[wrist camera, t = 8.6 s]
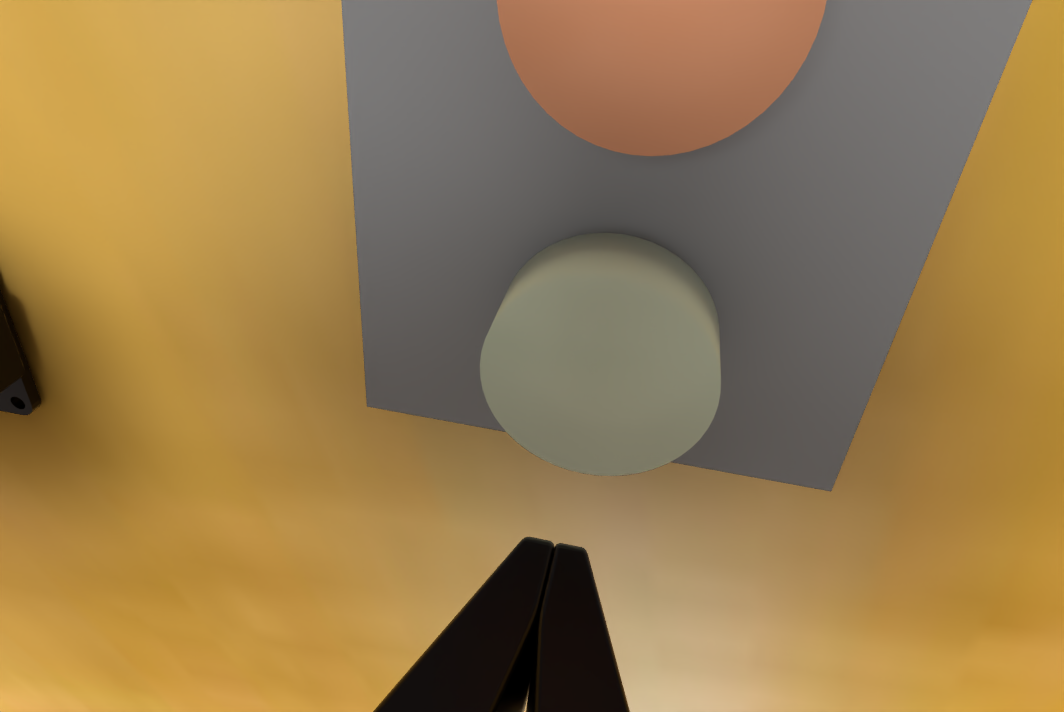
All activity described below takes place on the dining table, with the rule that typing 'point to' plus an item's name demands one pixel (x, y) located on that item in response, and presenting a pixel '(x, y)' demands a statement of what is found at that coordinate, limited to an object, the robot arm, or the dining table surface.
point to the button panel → (668, 210)
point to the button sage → (604, 356)
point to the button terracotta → (657, 65)
